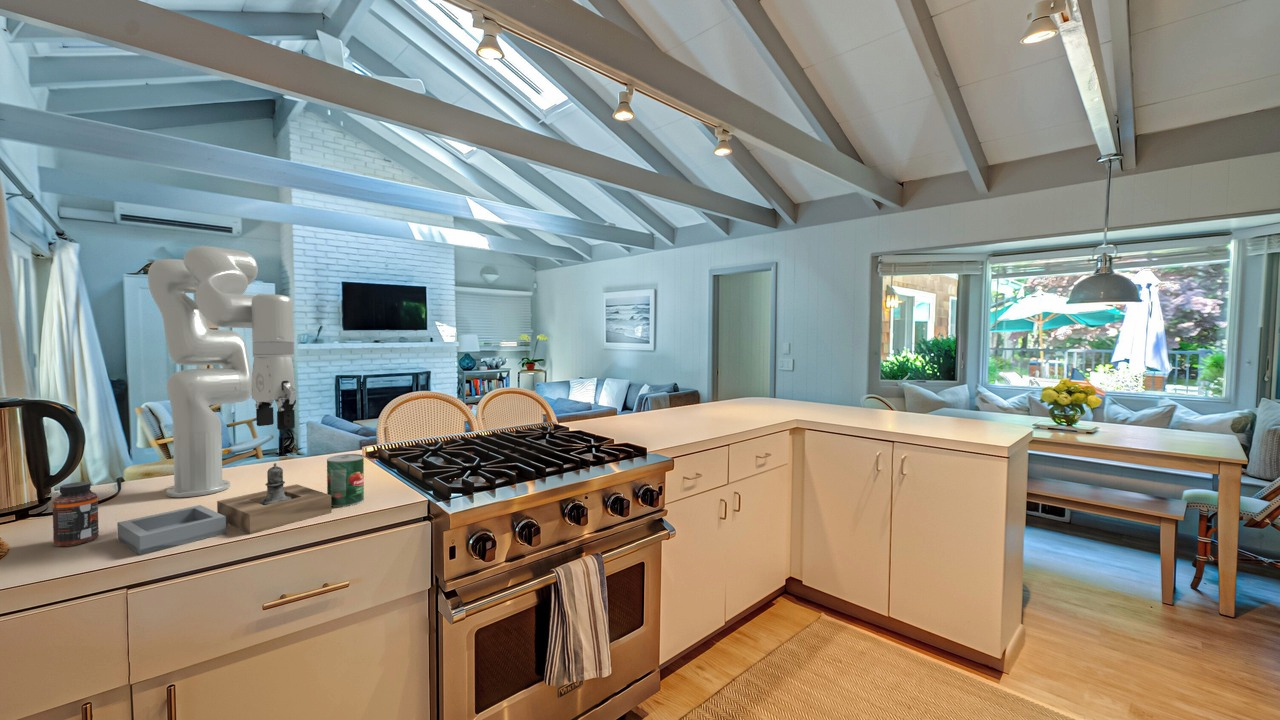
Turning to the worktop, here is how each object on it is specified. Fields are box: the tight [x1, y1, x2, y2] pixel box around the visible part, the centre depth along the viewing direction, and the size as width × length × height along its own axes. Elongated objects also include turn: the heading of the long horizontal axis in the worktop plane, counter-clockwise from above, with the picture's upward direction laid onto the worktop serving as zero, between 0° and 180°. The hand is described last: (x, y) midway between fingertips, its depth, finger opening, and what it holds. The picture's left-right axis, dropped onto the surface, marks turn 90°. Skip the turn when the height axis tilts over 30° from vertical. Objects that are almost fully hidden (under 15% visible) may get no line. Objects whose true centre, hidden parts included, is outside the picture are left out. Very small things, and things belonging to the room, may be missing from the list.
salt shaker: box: [259, 462, 291, 505], centre depth 116 cm, size 6×6×12 cm
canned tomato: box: [326, 453, 365, 508], centre depth 126 cm, size 8×8×11 cm
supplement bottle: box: [52, 481, 99, 547], centre depth 100 cm, size 6×6×11 cm
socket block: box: [216, 484, 332, 535], centre depth 116 cm, size 16×16×4 cm
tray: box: [116, 504, 227, 556], centre depth 103 cm, size 13×13×4 cm
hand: (275, 427), depth 115 cm, fingers open, 9 cm apart
